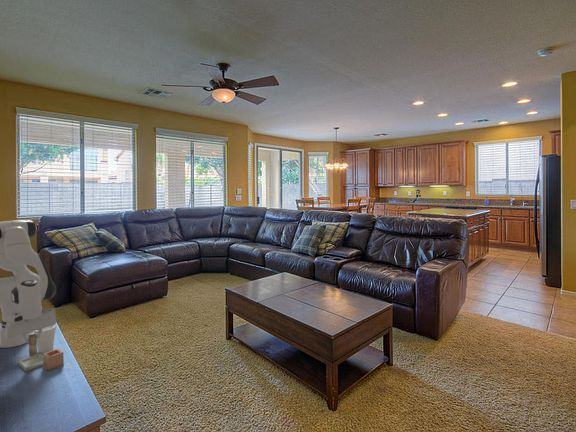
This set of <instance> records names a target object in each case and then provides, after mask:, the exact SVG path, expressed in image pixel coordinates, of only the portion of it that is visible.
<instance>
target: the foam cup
mask: <svg viewBox="0 0 576 432" xmlns="http://www.w3.org/2000/svg"><path fill="white" fill-rule="evenodd" d="M56 329H57V328H56V324H55V325H53V326H49V327H46V328H42V332H41V334H40V338H36V343H37V352H38V353H40V354H43V353H46V352H49V351H52V350H54V345H55V344H54V343H55V335H56ZM33 333H36V334H37V333H38V330H35V331H33Z"/></svg>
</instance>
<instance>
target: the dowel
mask: <svg viewBox="0 0 576 432" xmlns="http://www.w3.org/2000/svg"><path fill="white" fill-rule="evenodd" d="M28 337H29V342H28V352H29V353H28V355H29V356H28V357H32V356H36V355H37V354H38V347H37V342H36V333H34V332H33V333H31V334H29V335H28Z"/></svg>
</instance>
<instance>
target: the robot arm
mask: <svg viewBox="0 0 576 432" xmlns="http://www.w3.org/2000/svg"><path fill="white" fill-rule="evenodd" d="M37 228H38V227H37V225H36V223H35V221H33V220H29V219H24V220H23V219H15V220H13V219H12V220H3V221H0V269H1V270H4V271H8V272H11V273H12V274H13V275H12V276H6V277H0V310H1V319H2V320H1V321H0V322H1V323H0V324H1V325H0V326H1V327H0V349H2V348H4V349H5V348H14V347H18V346H21V345H25V344H27V343H29V337H28V335H29V334H31V333H34V331H35V330H38V333H37V334H36V338H40V334H41V332H42V328H46V327H49V326H53V325H55V326H56V323H57V318H56V312H57V311H56V309H55V308H53V307H50V308H45V309H43V304H42V301H45V300H50V299H52V298H53V297H55V295H56V294H57V286H56V284H55V282H54V281H53V279H52V276H51V275H50V272H49V269H48V266H47V265H46V262H45V260H44V258H43V256H42V254H40V253H38V252H36V251H35V250H34V249H33V247H32V244H31V240H30V239H31V238H33V237H34V236H35V235H36V234H37V230H38V229H37ZM28 266H31V267H33V268H34V269H35V270H36V272H37V273H35V272H33V271H31V270H30V269H29V268H28Z"/></svg>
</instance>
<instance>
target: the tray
mask: <svg viewBox="0 0 576 432" xmlns="http://www.w3.org/2000/svg"><path fill="white" fill-rule="evenodd" d="M17 364H18V365H19V366H20V367H21V368H22V369H23V370H24V371H25V372H26V373H28V372H30V371H33V370H34V369H37V368H39V367H40V368H41V367H44V363H43V354H42V353H39V352H37V355H36V356H32V357H30V356H28V357H24V358H21V359H19V360H17Z"/></svg>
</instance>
